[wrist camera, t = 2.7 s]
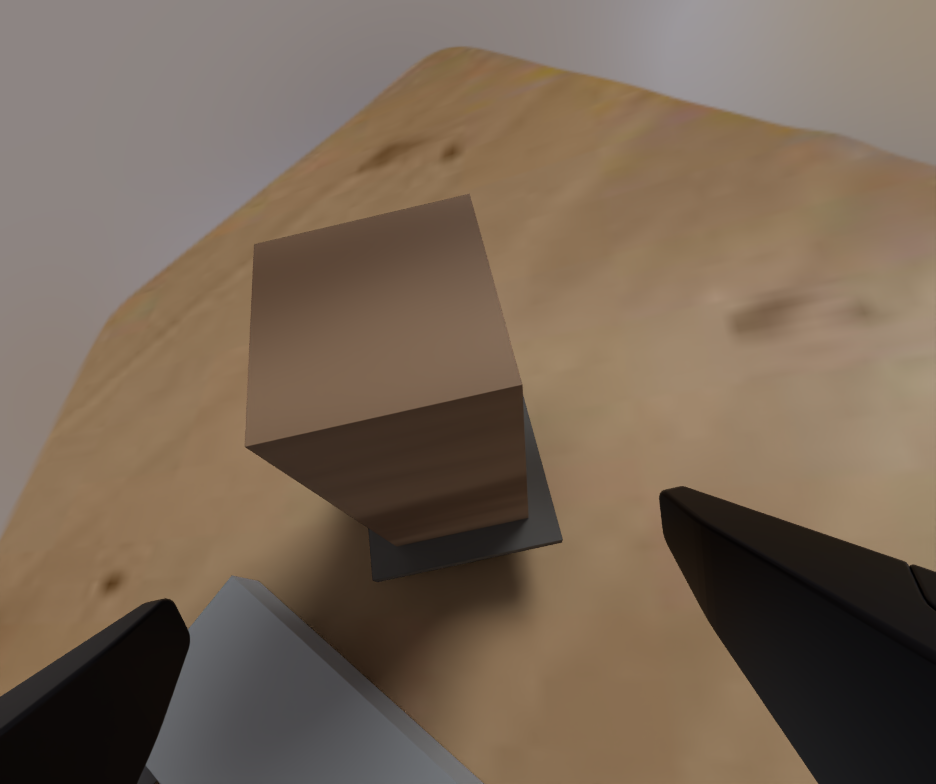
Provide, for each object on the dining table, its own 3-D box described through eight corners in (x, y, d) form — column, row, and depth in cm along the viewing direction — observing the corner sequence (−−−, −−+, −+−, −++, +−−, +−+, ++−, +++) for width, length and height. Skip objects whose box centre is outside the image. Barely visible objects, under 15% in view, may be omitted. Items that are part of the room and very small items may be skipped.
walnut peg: (559, 551, 19) (597, 423, 8) (391, 587, 19) (184, 515, 8) (519, 401, 22) (503, 156, 11) (376, 432, 23) (214, 223, 11)
